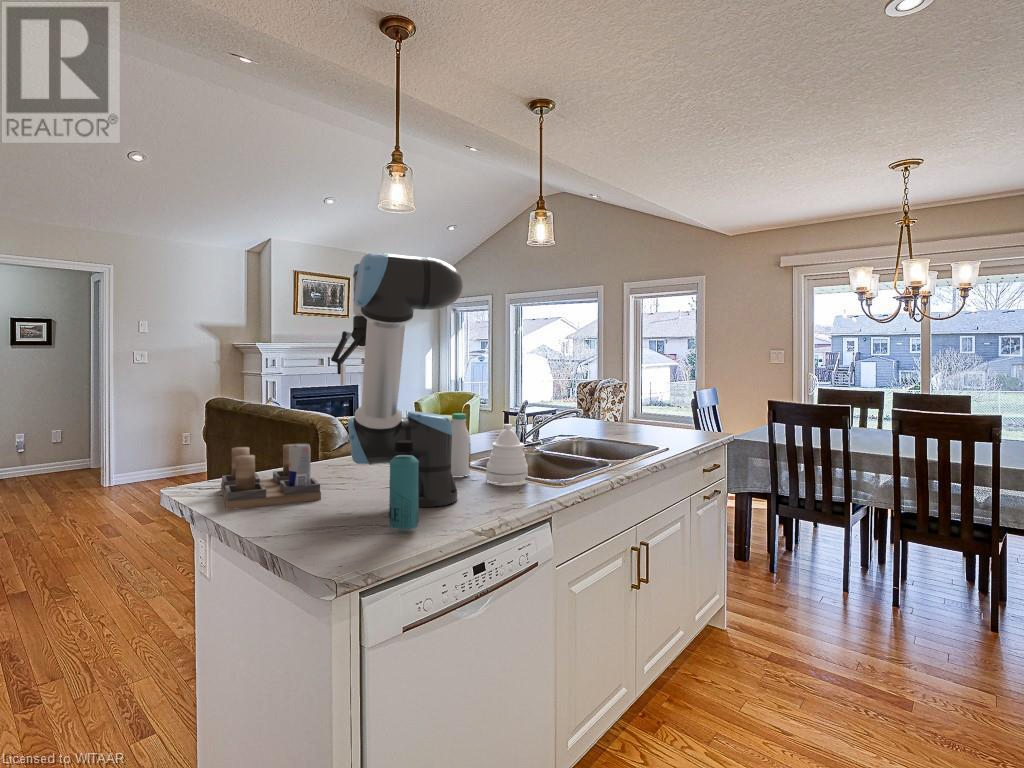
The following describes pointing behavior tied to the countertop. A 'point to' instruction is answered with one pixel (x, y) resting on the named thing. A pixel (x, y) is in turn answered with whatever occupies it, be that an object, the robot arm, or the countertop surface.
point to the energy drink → (299, 464)
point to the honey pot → (507, 459)
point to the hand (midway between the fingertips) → (365, 385)
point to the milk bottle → (460, 446)
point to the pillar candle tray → (262, 484)
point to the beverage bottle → (404, 488)
